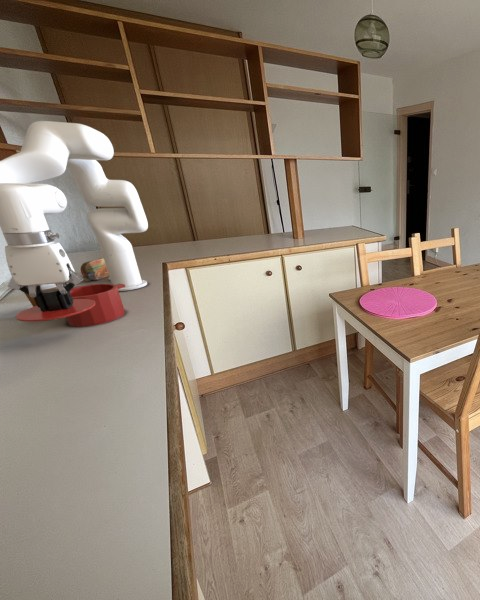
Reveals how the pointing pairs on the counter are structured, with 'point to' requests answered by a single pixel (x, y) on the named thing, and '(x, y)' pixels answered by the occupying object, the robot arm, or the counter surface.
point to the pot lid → (54, 308)
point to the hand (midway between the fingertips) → (57, 307)
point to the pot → (98, 304)
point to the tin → (94, 269)
